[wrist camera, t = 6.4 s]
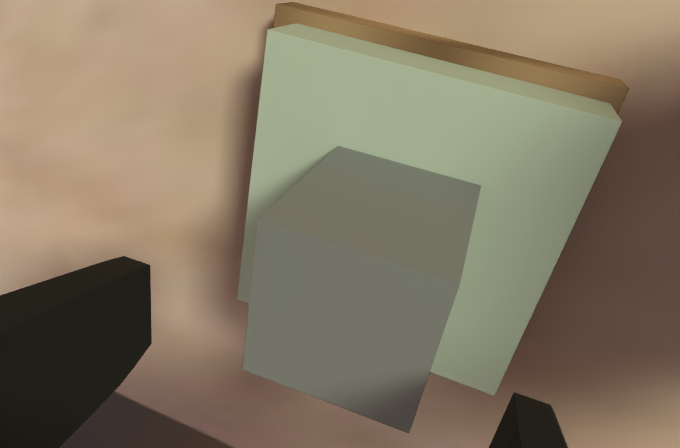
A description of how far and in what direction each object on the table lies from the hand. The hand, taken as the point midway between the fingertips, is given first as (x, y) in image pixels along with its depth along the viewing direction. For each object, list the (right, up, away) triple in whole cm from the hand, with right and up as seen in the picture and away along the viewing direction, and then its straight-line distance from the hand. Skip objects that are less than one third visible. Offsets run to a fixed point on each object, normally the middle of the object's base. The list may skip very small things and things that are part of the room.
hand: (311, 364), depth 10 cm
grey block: (+2, +3, +5) cm, 6 cm away
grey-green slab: (+3, +3, +7) cm, 8 cm away
